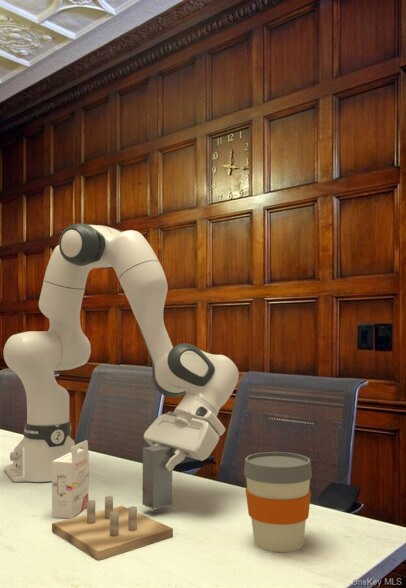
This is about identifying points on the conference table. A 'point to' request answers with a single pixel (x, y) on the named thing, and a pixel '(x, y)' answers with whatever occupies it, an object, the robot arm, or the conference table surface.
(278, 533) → the reusable coffee cup
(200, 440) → the robot arm
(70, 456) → the ink cartridge box
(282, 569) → the conference table surface
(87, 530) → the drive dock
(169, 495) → the plate
